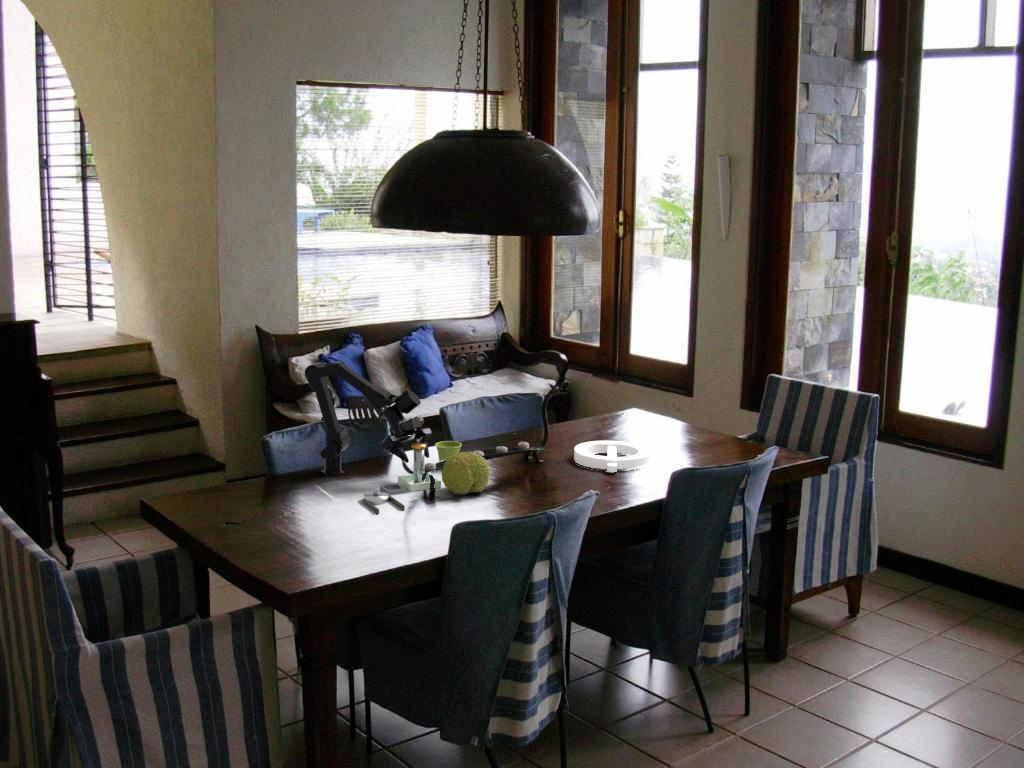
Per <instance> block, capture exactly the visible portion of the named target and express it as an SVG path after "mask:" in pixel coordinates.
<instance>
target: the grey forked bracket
mask: <svg viewBox="0 0 1024 768" xmlns="http://www.w3.org/2000/svg"><path fill="white" fill-rule="evenodd" d="M389 502H391V504H393V505H395V506H396V507H398V508H399V509H400V510H402V511H403V512H405V511H404V510H405V508H406V506H405V505H404V504H403V503H401V501H399V500H397V499H396V498H394V497H393V496H392V495H391V496H390V495H389V494H387V493H384V492H378V491H369V492H367V493H364V495H363V498H362V504H364V505H365V506H366V507H367V508H369V509H370V510H371V511H373V512H374V513H375V515H376V516H379V515H380V509H379V508H378V507H377V506H376V505H378V506H379V505H384V504H387V503H389ZM402 511H401V512H402ZM378 514H379V515H378Z"/></svg>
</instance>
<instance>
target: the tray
mask: <svg viewBox="0 0 1024 768" xmlns="http://www.w3.org/2000/svg"><path fill="white" fill-rule="evenodd" d="M432 476H433V477H434V479H435V484H434V488H435V489H441V488H442V480H440V479H438V478H437V477H435V476H434V475H432ZM430 483H431V482H429V475H427V477H426V480H425V482H424V483H416V484H414V473H412V474H405V475H398V476H397V484H399V485H401V486H402V487H404V488H405V489H406V490H407V491H409V492H410V493H414V492H421V491H429V490H430V489H429V488H430ZM435 489H434V490H435Z"/></svg>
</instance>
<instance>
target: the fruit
mask: <svg viewBox="0 0 1024 768" xmlns="http://www.w3.org/2000/svg"><path fill="white" fill-rule="evenodd" d="M490 473H491V469H490V466H489V464H488V461H487V460H486V458H484V457H483V456H481V455H480V454H479V453H475V452H471V451H466V452H465V451H461V452H459V453H457V454H454V455H452V456H450V457H449V458H448V459H447V460H446V462H445V464H444V466H443V469H442V470H441V482H443V484H444V487H445V488H447V489H448V491H450V492H452V493H453V494H455V495H467V494H470V493H471V494H472V493H478V492H482V491H484V489H486V486H487V485H488V484H489V480H490Z"/></svg>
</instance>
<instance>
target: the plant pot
mask: <svg viewBox="0 0 1024 768" xmlns="http://www.w3.org/2000/svg"><path fill="white" fill-rule="evenodd" d="M435 447H436V450H437V454H438V462H439V461H441V460H444V459H446V458H449V457H450V456H452V455H454V454H457V453H460V450H461V447H462V442H459V441H453V440H444V441H439V442H438V441H437V442H436V443H435Z"/></svg>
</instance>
